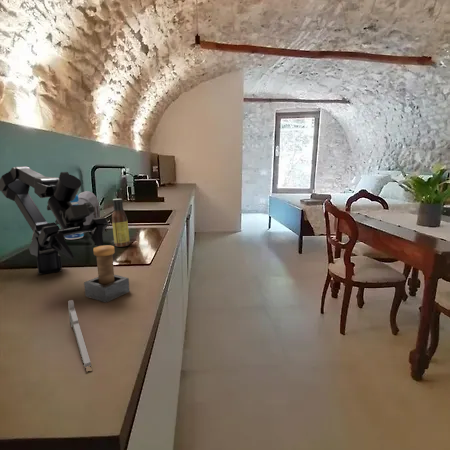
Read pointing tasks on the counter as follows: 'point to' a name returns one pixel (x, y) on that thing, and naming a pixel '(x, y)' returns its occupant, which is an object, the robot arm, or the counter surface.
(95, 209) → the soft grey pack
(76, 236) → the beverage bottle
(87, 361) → the caliper
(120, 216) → the sauce bottle
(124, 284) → the socket block
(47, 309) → the counter surface
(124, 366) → the counter surface
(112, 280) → the pin
